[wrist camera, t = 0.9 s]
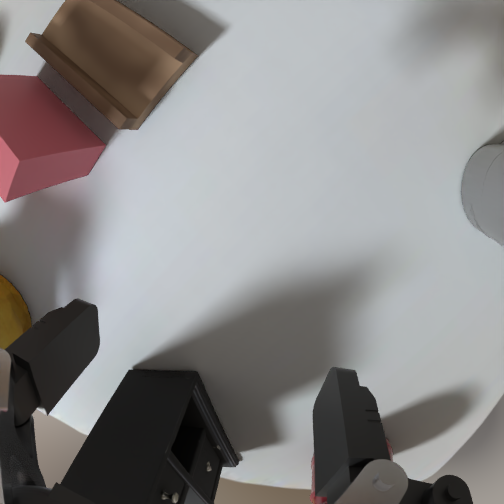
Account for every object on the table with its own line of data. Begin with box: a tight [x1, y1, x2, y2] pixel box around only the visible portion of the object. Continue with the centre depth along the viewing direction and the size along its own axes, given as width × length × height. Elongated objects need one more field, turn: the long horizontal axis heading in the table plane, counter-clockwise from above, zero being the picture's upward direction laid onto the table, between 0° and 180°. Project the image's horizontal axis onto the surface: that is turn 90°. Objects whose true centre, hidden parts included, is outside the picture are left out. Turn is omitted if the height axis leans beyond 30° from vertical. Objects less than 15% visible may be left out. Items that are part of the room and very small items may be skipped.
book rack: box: [25, 0, 198, 130], centre depth 22 cm, size 9×19×4 cm, turn 47°
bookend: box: [60, 370, 239, 504], centre depth 30 cm, size 23×11×24 cm, turn 11°
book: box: [0, 75, 106, 202], centre depth 21 cm, size 4×15×12 cm, turn 47°
